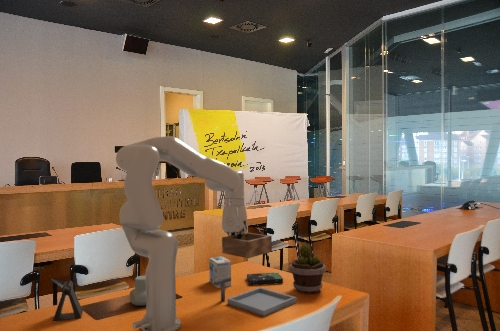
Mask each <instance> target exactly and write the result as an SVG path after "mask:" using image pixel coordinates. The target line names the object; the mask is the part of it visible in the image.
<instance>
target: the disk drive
mask: <svg viewBox="0 0 500 331" xmlns="http://www.w3.org/2000/svg"><path fill="white" fill-rule="evenodd" d="M246 280H247V282H248V284H249V286H263V284H267V285H275V284H274V283H283V284H284V278H283V277H282V275H280V273H279V272H266V273H265V272H261V273H247V274H246Z"/></svg>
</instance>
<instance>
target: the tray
mask: <svg viewBox="0 0 500 331" xmlns="http://www.w3.org/2000/svg"><path fill="white" fill-rule="evenodd" d="M226 300H227V305H229V306H232V307H235V308H238V309H240V310H244V311H247V312H250V313H252V314H255V315H258V316H261V317H266V316H269V315H271V314H273V313H275V312H277V311H280V310H282V309H285V308H286V307H289V306H292V305H294V304H296V303H297V297H296V296H293V295H289V294H286V293H282V292H279V291H275V290H272V289H268V288H264V287H257V288H254V289H251V290H248V291H246V292H242V293H240V294H236V295H235V296H231V297H229V298H227V299H226Z"/></svg>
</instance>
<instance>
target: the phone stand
mask: <svg viewBox="0 0 500 331" xmlns="http://www.w3.org/2000/svg"><path fill="white" fill-rule="evenodd" d="M67 283H68V284H67ZM67 287H68V288H67ZM66 296H68V298H69V303H70V304H71V308H72V311H73V312H66V313H65V312H64V313H62V312H63V309H64V305H65V304H64V303H65V301H66V300H65V299H66ZM83 311H84V310H83V309H82V305H81V304H80V301H79V299H78V297H77V294H76V292H75V290H74V282H73V281H72V280H69V282H68V280H66V281H64V284H63V285H62V288H61V297H60V299H59V302H58V305H57V307H56V310H55V313H54V316H53V317H52V322H53V321H56V322H63V321H69V320H70V321H72V320H71V319H73V320H79V319H78V318H80V319H82V316H83Z"/></svg>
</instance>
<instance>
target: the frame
mask: <svg viewBox="0 0 500 331" xmlns="http://www.w3.org/2000/svg"><path fill="white" fill-rule="evenodd" d="M272 239H273V238H272V235H268V234H259V233H252V232H248V231H247V235H244V236H243V237H242V239H241V240H240V239H235V235H231V236H228V235H226V236H223V237H221V248H222V251H221V253H222V254H226V255H231V256H235V257H238V258H245V259H251V258H254V257H258V256H261V255H265V254H268V253H271V252H273V249H272V247H273V246H272Z"/></svg>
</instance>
